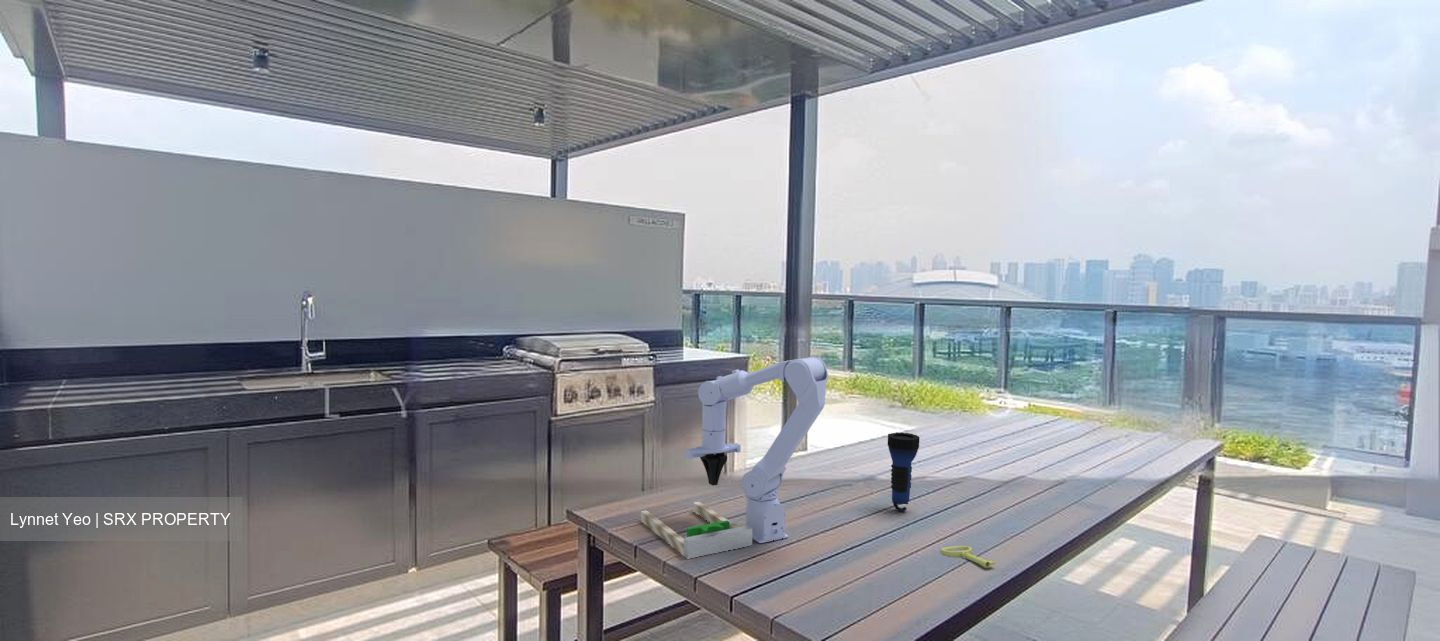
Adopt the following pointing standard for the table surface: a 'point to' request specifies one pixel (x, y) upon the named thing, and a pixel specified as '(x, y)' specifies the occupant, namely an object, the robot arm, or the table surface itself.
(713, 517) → the guide rails
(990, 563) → the key
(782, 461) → the robot arm
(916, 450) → the flashlight
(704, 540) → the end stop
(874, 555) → the table surface
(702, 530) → the pipe clamp
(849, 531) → the table surface
